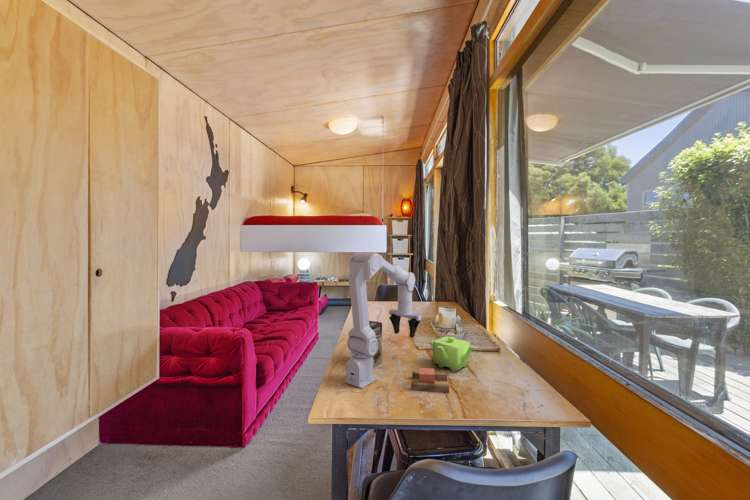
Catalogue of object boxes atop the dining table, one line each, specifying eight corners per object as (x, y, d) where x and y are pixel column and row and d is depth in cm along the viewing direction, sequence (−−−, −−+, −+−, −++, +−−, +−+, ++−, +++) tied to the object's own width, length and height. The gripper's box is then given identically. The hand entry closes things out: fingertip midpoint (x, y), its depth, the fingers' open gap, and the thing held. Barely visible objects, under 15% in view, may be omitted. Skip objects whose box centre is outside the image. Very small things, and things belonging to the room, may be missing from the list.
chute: (411, 390, 108) (411, 384, 108) (412, 376, 118) (412, 371, 118) (449, 392, 106) (449, 386, 106) (446, 379, 116) (446, 373, 116)
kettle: (476, 374, 121) (477, 343, 120) (437, 375, 120) (438, 344, 119) (462, 358, 136) (463, 331, 135) (428, 359, 135) (428, 332, 134)
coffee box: (370, 370, 123) (370, 327, 122) (355, 367, 127) (355, 325, 126) (382, 362, 131) (383, 322, 130) (368, 359, 134) (369, 319, 134)
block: (419, 387, 110) (419, 373, 110) (419, 380, 115) (419, 367, 115) (434, 388, 110) (434, 374, 109) (433, 381, 115) (434, 368, 114)
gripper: (425, 302, 132) (425, 336, 133) (396, 297, 141) (396, 329, 142) (415, 305, 127) (415, 340, 127) (386, 300, 136) (385, 333, 137)
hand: (404, 335), depth 134 cm, fingers open, 7 cm apart
